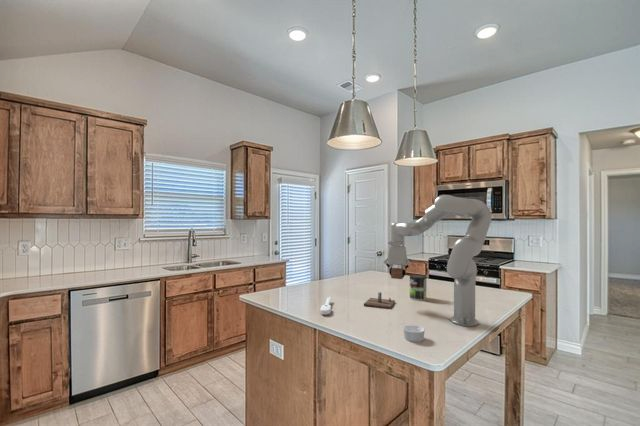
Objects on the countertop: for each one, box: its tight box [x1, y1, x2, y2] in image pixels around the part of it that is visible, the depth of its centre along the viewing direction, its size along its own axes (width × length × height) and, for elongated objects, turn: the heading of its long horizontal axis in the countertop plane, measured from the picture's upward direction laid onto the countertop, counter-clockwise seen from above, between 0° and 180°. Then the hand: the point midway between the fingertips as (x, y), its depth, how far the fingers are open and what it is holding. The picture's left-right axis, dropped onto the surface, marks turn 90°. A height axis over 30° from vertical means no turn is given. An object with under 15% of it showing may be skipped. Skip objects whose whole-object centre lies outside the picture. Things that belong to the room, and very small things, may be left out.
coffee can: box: [409, 273, 427, 301], centre depth 201 cm, size 10×10×14 cm
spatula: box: [319, 296, 332, 316], centre depth 179 cm, size 28×6×3 cm, turn 173°
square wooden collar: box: [390, 267, 405, 280], centre depth 184 cm, size 10×6×5 cm, turn 156°
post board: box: [363, 291, 396, 310], centre depth 187 cm, size 15×15×7 cm
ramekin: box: [402, 324, 426, 343], centre depth 135 cm, size 9×9×4 cm
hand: (397, 275), depth 182 cm, fingers closed on square wooden collar, 6 cm apart
